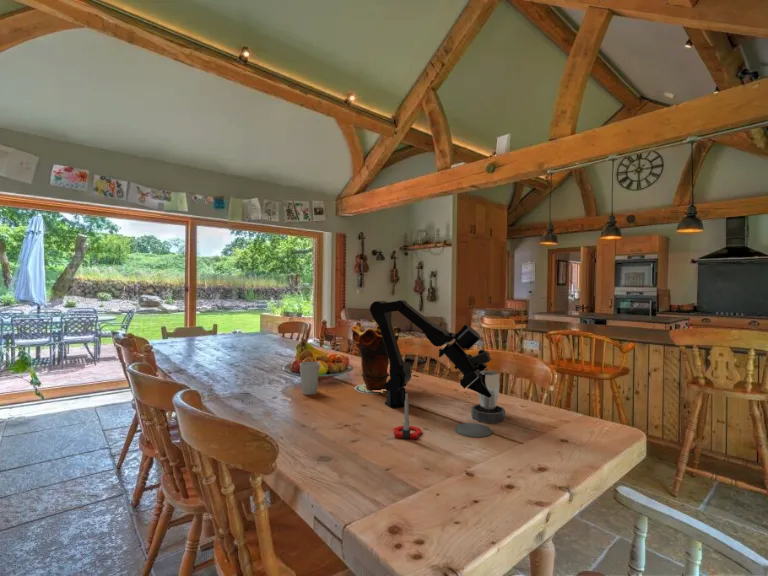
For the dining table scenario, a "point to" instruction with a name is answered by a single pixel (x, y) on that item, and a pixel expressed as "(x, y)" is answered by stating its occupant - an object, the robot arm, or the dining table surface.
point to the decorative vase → (372, 358)
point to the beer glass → (492, 385)
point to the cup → (309, 377)
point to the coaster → (473, 430)
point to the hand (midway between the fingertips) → (492, 393)
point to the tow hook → (407, 425)
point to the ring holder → (488, 415)
